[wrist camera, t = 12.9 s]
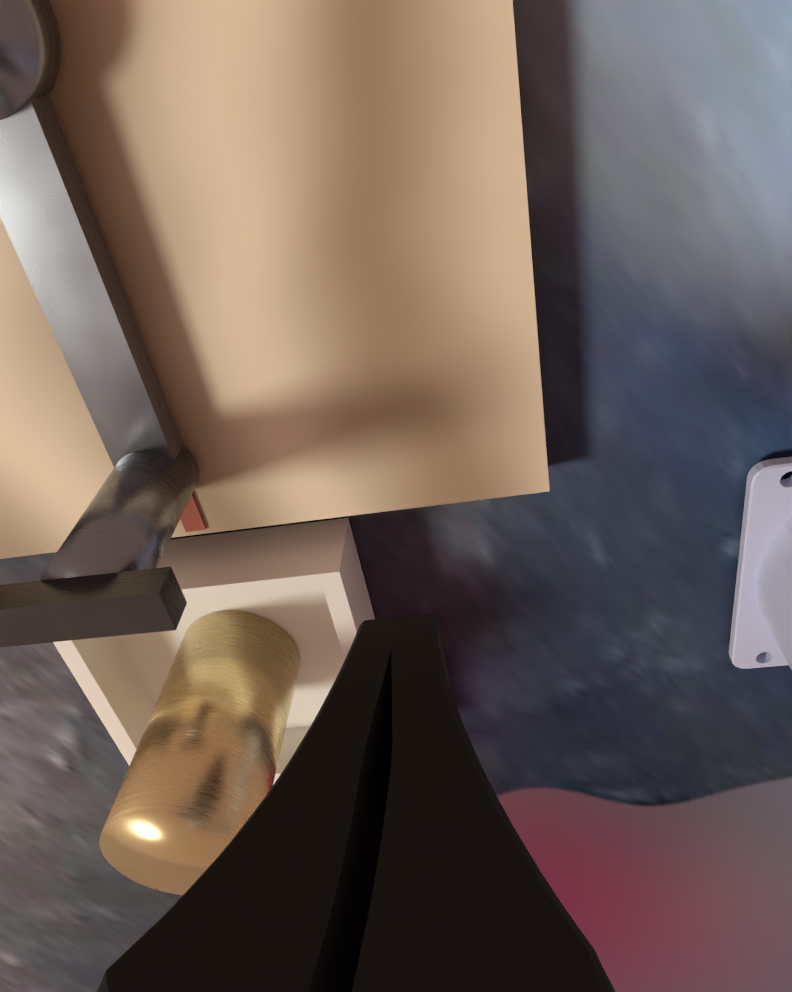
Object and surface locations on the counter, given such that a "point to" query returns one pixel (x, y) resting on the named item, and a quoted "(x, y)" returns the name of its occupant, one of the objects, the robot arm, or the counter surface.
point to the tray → (237, 587)
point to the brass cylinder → (204, 751)
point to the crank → (86, 371)
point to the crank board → (292, 260)
